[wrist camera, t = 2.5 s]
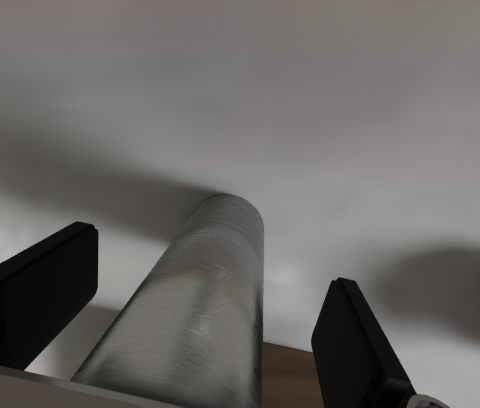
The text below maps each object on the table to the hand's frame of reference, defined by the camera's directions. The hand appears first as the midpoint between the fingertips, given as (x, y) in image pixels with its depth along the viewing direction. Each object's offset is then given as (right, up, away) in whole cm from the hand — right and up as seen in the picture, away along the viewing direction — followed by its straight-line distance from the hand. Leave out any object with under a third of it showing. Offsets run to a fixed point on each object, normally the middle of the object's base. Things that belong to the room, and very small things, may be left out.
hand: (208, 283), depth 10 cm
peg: (0, +2, +4) cm, 4 cm away
